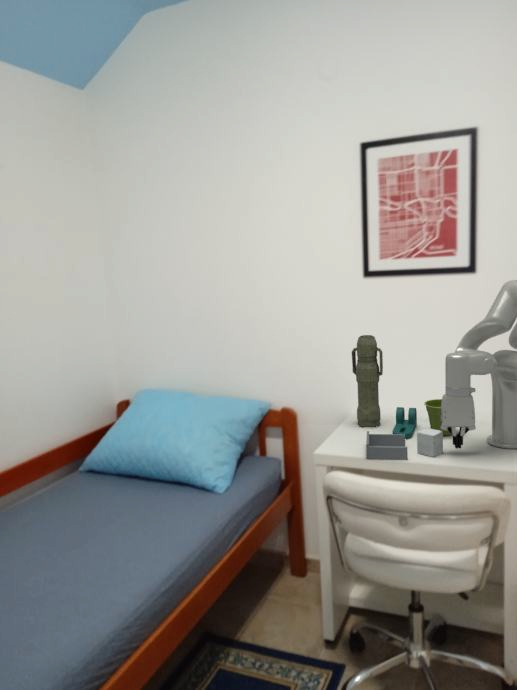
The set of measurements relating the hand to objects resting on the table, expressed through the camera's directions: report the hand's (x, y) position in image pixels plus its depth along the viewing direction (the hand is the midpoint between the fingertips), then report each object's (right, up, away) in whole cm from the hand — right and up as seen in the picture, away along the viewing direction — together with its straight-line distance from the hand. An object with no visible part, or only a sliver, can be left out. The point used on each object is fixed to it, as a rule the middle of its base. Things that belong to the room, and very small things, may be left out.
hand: (457, 446), depth 175 cm
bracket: (-10, 0, +25) cm, 27 cm away
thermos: (-21, +2, +36) cm, 42 cm away
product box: (-8, -3, +2) cm, 9 cm away
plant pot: (+2, +1, +21) cm, 21 cm away
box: (-21, -3, +5) cm, 22 cm away
